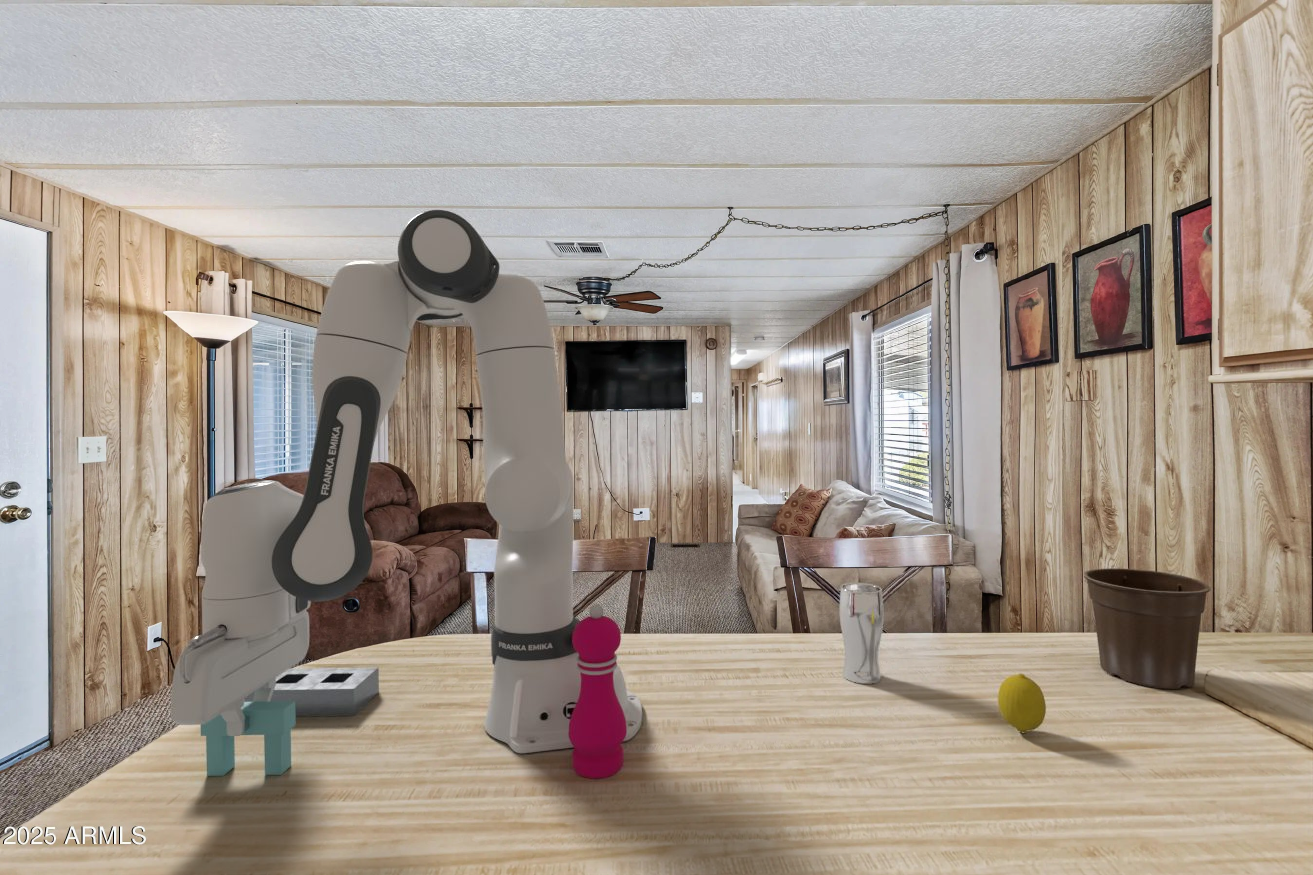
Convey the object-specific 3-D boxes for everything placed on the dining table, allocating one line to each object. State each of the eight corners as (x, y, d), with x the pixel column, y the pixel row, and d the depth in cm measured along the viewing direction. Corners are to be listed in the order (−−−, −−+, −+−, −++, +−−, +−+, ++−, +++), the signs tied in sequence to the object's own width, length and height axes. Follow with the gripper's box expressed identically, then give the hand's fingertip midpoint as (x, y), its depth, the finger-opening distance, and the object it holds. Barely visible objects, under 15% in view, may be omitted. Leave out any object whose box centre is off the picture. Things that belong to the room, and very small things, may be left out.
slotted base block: (378, 691, 96) (378, 667, 96) (354, 715, 88) (353, 688, 88) (278, 693, 96) (277, 668, 95) (244, 717, 88) (244, 690, 87)
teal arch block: (296, 764, 75) (295, 700, 75) (284, 775, 73) (283, 709, 72) (215, 765, 75) (214, 702, 75) (201, 776, 72) (200, 711, 72)
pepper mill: (618, 784, 70) (616, 614, 70) (560, 777, 71) (558, 611, 71) (633, 751, 77) (631, 597, 77) (579, 746, 79) (578, 595, 78)
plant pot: (1099, 686, 95) (1099, 585, 95) (1073, 651, 110) (1072, 564, 110) (1231, 703, 89) (1231, 595, 89) (1184, 664, 104) (1184, 571, 104)
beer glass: (887, 673, 101) (887, 585, 101) (878, 688, 95) (878, 595, 95) (846, 665, 105) (845, 580, 105) (834, 679, 99) (834, 589, 99)
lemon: (1042, 727, 82) (1041, 669, 82) (1049, 746, 77) (1048, 685, 77) (996, 719, 85) (995, 663, 85) (1000, 737, 80) (999, 678, 80)
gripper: (211, 643, 63) (213, 772, 63) (318, 591, 84) (319, 689, 84) (150, 644, 63) (153, 774, 63) (272, 591, 83) (274, 690, 84)
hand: (249, 725), depth 74 cm, fingers closed on teal arch block, 2 cm apart
